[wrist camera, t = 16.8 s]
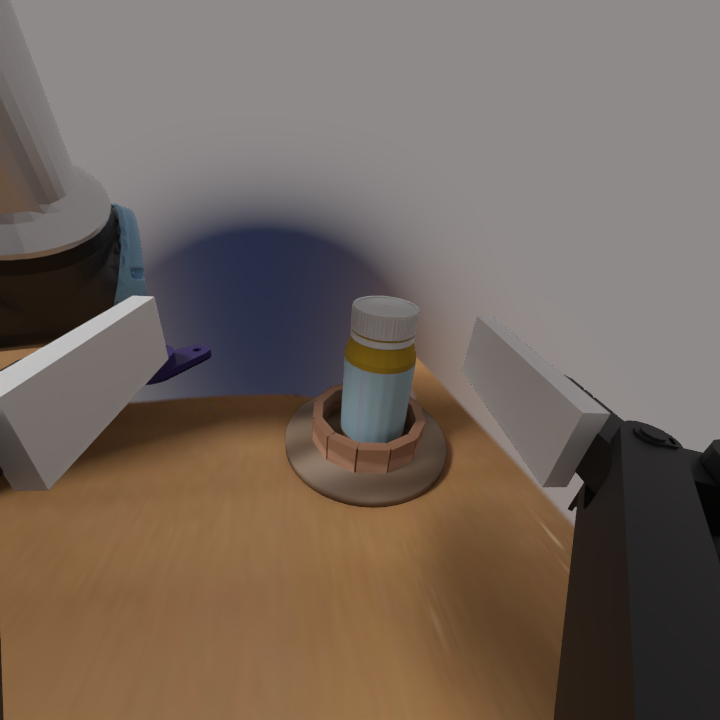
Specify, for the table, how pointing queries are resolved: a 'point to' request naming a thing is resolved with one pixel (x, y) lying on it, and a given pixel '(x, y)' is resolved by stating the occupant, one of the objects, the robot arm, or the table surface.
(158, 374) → the lever
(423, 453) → the bottle holder
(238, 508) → the table surface
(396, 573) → the table surface
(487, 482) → the table surface
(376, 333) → the bottle
